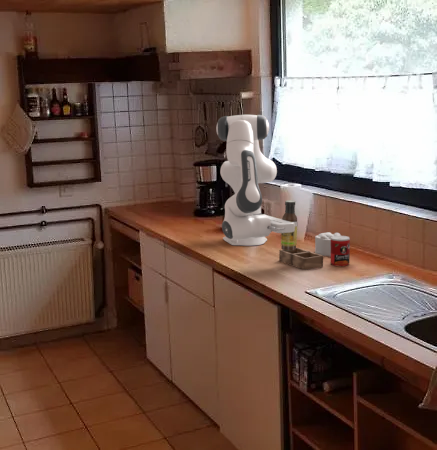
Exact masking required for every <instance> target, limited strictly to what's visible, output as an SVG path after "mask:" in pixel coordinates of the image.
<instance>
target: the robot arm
mask: <svg viewBox="0 0 437 450" xmlns="http://www.w3.org/2000/svg"><path fill="white" fill-rule="evenodd" d="M215 126H216V134H217V136H218V138H219V139H220V140H221V141H224V142H226V149H225V150H226V151H225V152H226V159H227V160H225V161H224V162H223V163H222V164H221V166H220V176H221V178H222V180H223V181H224V182H225V183H226V184H228V185H229V186H230V188H231V189H232V190H233V193H234V194H233V195H232V196H230V197H229V198H228V199H227V200H226V201H225V202H224V219H223V221H222V223H221V224H222V225H221V228H222V233H223V235H224V236H223V237H222V240H224V241H225V242H227V243H228V244H229V245H231V246H260V245H263V244H265V243H266V242H267V241H268V238H267V237H269V236H270V234H271V233H272V232H273V233H276V234H281V233H290V232H294V231H295V227H296V226H297V227H298V221H297V222H295V221H294V222H289V221H286V220H282V218H277V217H275V216H271V215H267V214H265V213H262V204H263V194H262V192H261V189H260V186H259V184H266V183H270V182H273V181H274V180H275V178H276V177H277V173H278V170H277V169H278V168H277V165H276V163H275V162H274V161H273V160H272V159H269V158H268V157H266V156H265V155H264V154H263V153H262V151H261V148H260V143H259V142H260V141H262V140H265V139H266V138H267V137H268V134H269V133H270V123H269V121H268V118H267V117H266V116H265V115H262V114H257V115H256V114H237V115H230V116H228V115H225V116H221V117H220V118H218V120H217V124H216V125H215Z"/></svg>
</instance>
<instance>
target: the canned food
mask: <svg viewBox="0 0 437 450" xmlns="http://www.w3.org/2000/svg"><path fill="white" fill-rule="evenodd" d="M350 245H351V239H350V236H348V235H347V236H346V235H341V236H332V237H331V256H330V264H331V265H332V266H335V267H346V266H349V264H350V258H351V257H350V254H351V253H350V252H351V251H350V250H351V249H350V248H351V246H350Z"/></svg>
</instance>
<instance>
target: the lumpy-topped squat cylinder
mask: <svg viewBox="0 0 437 450" xmlns="http://www.w3.org/2000/svg"><path fill="white" fill-rule="evenodd" d="M332 236H342V235H341V233H339V232H334V233H332V232H330V231H329V232H328V231H327V232H322V233H319V234H318V235H315V236H314V245H315V246H314V248H315V249H314V253H316V254H319V255H322V256H323V257H331V237H332Z"/></svg>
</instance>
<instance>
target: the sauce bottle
mask: <svg viewBox="0 0 437 450" xmlns="http://www.w3.org/2000/svg"><path fill="white" fill-rule="evenodd" d="M284 205H285V206H284V207H285V211H284V213H283V215H282V218H281V219H282V220H286V221H289V222H294V221H295V222H298V217H297V215H296V212H295V209H296V208H295V207H296V201H295V200H285V203H284ZM280 234H281V235H280V237H281V239H280V246H281V247H280V250H286V251H294V250H296V248H297V244H298V242H297V241H298V237H297V236H298V226H296V227H295V231H294V232H290V233H280Z"/></svg>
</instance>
